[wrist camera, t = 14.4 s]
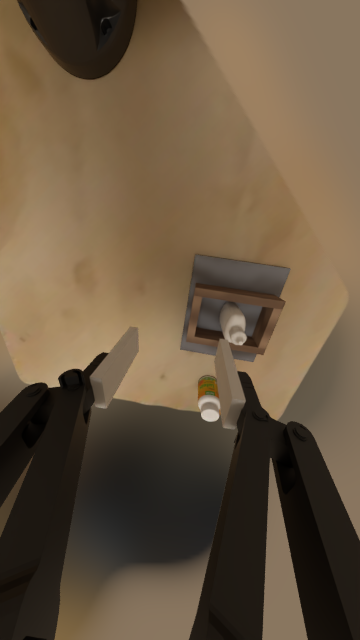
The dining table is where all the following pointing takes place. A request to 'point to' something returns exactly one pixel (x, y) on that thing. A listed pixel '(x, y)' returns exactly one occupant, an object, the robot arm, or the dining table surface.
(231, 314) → the eye dropper bottle
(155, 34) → the dining table surface
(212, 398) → the supplement bottle
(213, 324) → the bottle holder
